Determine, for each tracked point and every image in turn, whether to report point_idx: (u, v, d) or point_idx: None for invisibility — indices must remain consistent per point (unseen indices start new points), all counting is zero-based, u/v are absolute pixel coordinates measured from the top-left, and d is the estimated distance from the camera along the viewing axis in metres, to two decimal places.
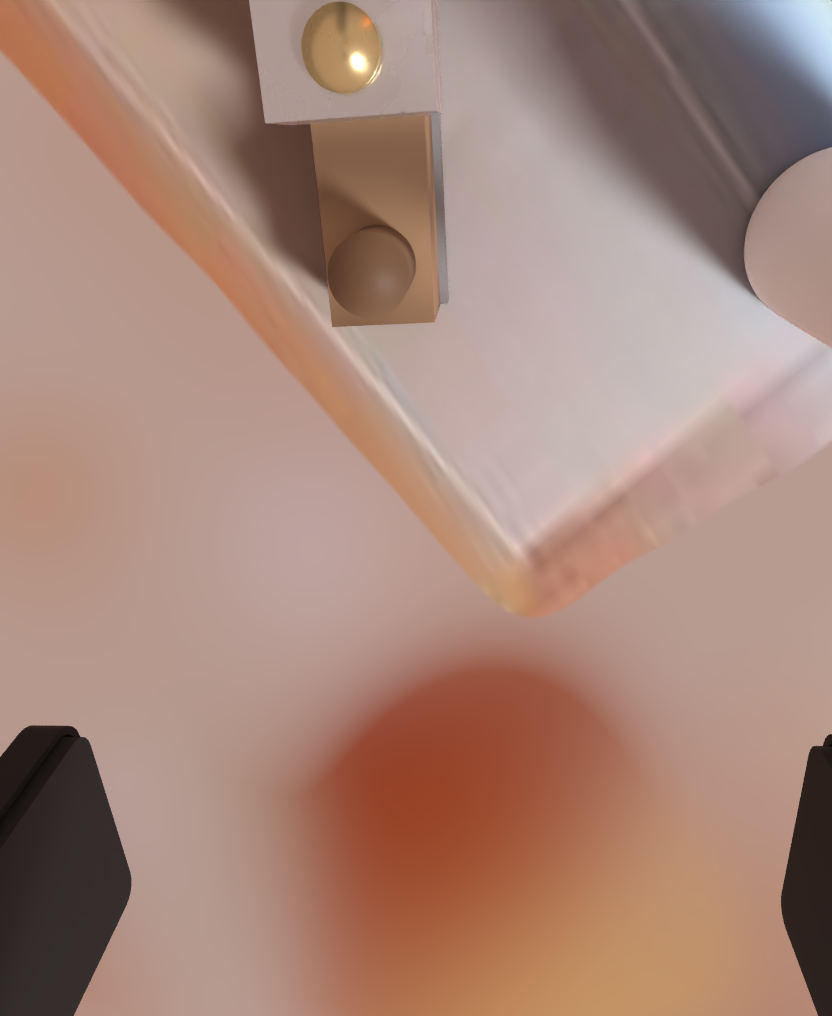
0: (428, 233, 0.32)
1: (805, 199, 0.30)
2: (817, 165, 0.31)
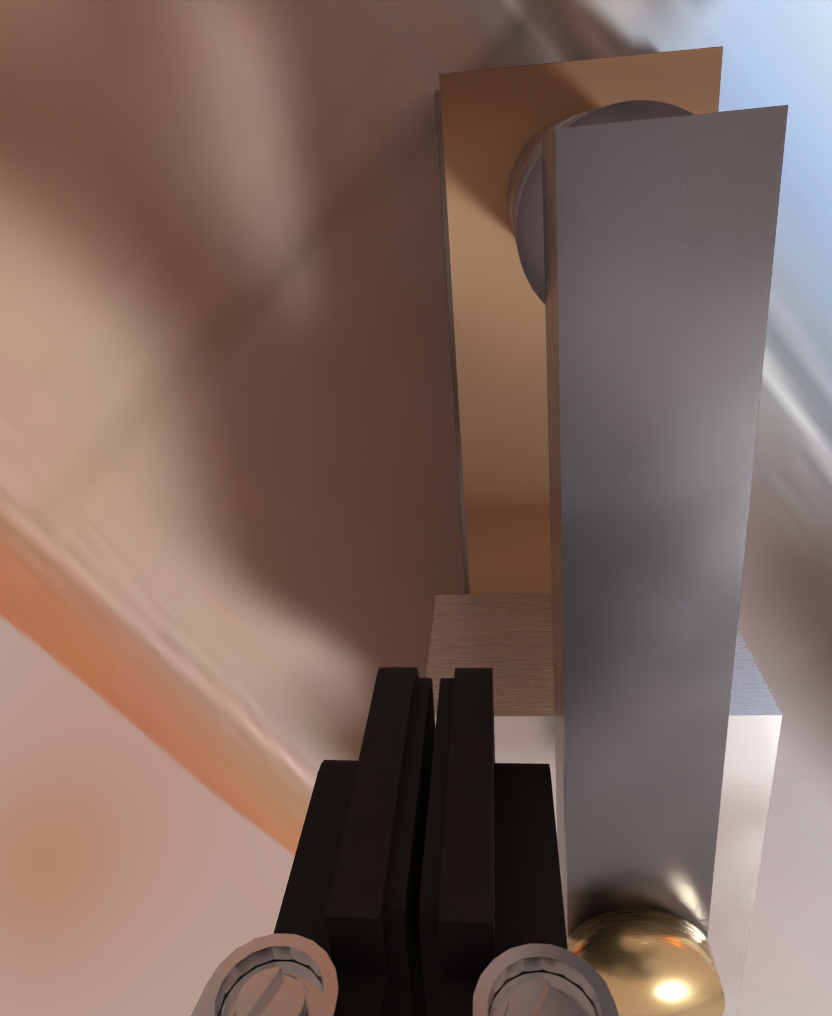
0: None
1: None
2: None
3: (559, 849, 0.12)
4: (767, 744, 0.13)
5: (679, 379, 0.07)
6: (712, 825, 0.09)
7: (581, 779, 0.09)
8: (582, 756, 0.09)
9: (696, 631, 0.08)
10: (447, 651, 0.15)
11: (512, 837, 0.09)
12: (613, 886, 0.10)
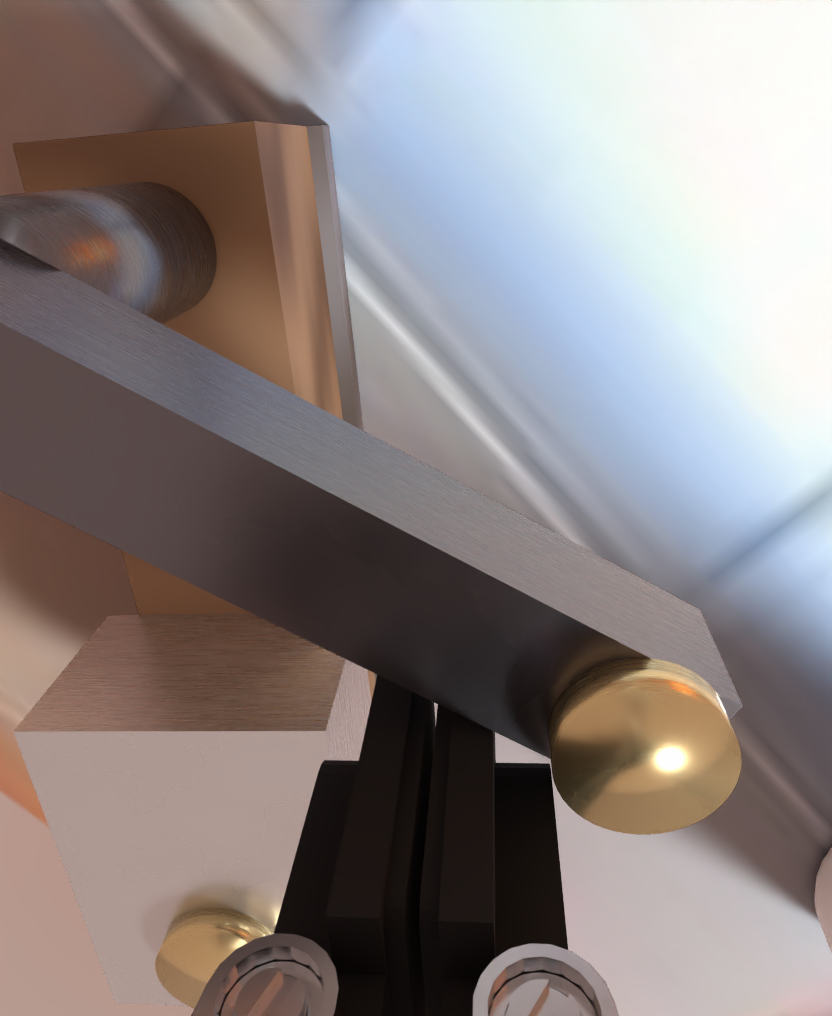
0: None
1: None
2: None
3: None
4: (320, 757, 0.14)
5: None
6: (484, 580, 0.08)
7: (361, 651, 0.09)
8: (333, 637, 0.09)
9: (235, 484, 0.08)
10: (80, 669, 0.16)
11: (512, 837, 0.09)
12: (517, 697, 0.09)
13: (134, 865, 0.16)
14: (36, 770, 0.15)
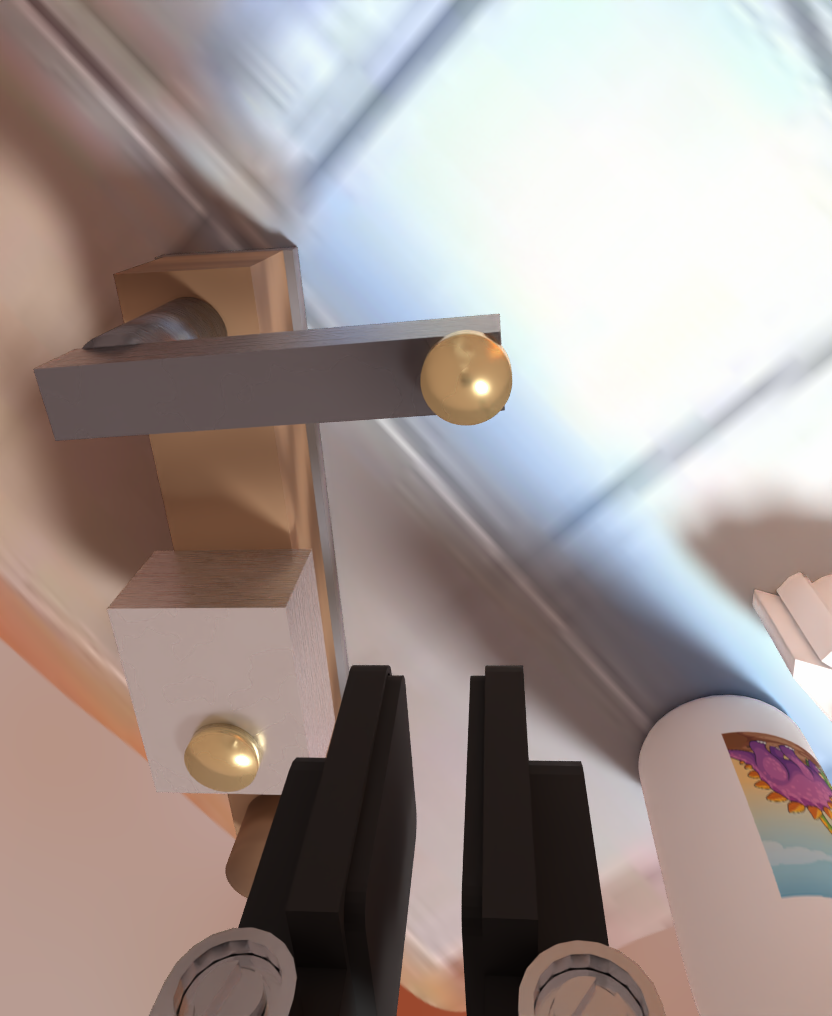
0: None
1: (678, 809, 0.31)
2: (694, 750, 0.33)
3: None
4: (283, 623, 0.25)
5: (127, 391, 0.18)
6: (353, 346, 0.17)
7: (331, 414, 0.18)
8: (316, 414, 0.18)
9: (237, 370, 0.18)
10: (141, 579, 0.27)
11: (548, 834, 0.09)
12: (407, 392, 0.18)
13: (172, 694, 0.27)
14: (118, 633, 0.26)
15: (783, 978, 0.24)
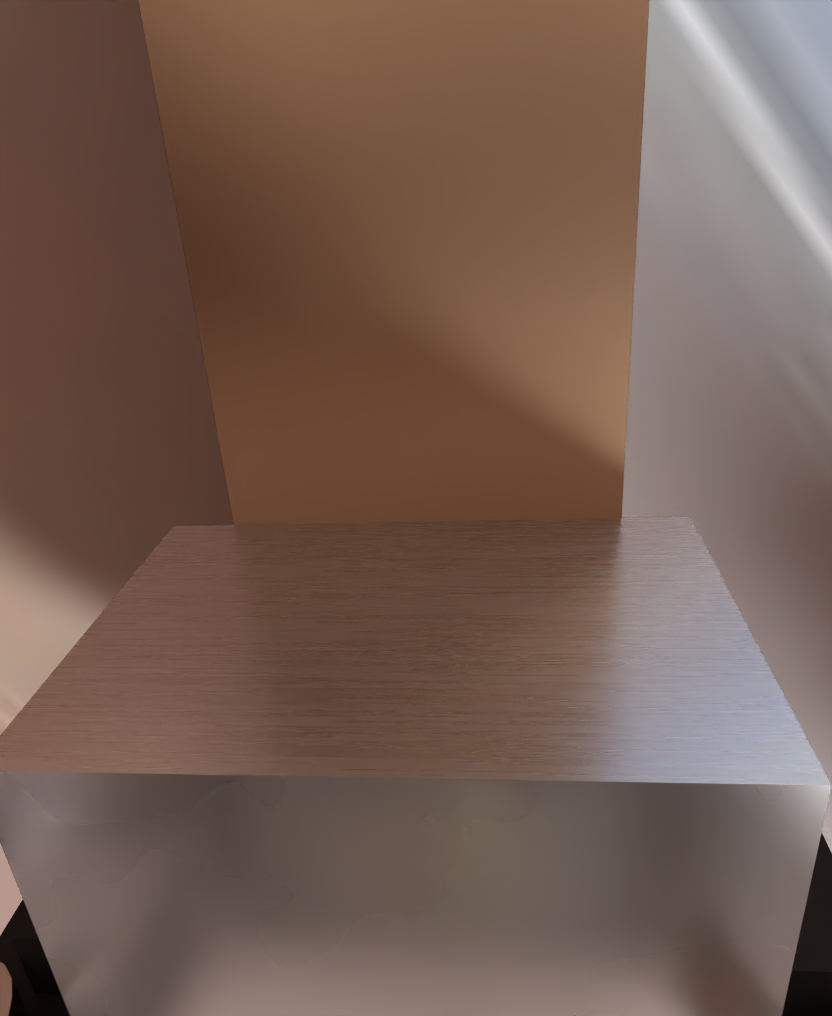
0: None
1: None
2: None
3: None
4: (793, 851, 0.05)
5: None
6: None
7: None
8: None
9: None
10: (128, 624, 0.07)
11: None
12: None
13: None
14: (30, 864, 0.06)
15: None
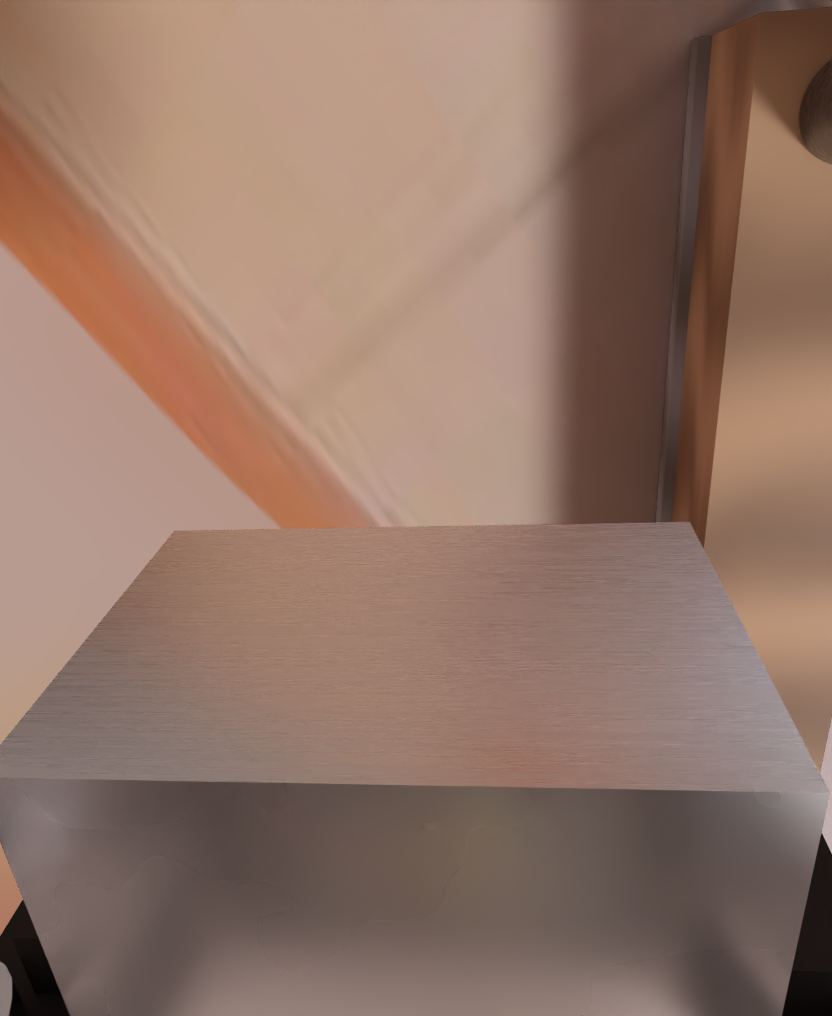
0: None
1: None
2: None
3: None
4: (791, 859, 0.05)
5: None
6: None
7: None
8: None
9: None
10: (130, 630, 0.07)
11: None
12: None
13: None
14: (32, 870, 0.06)
15: None
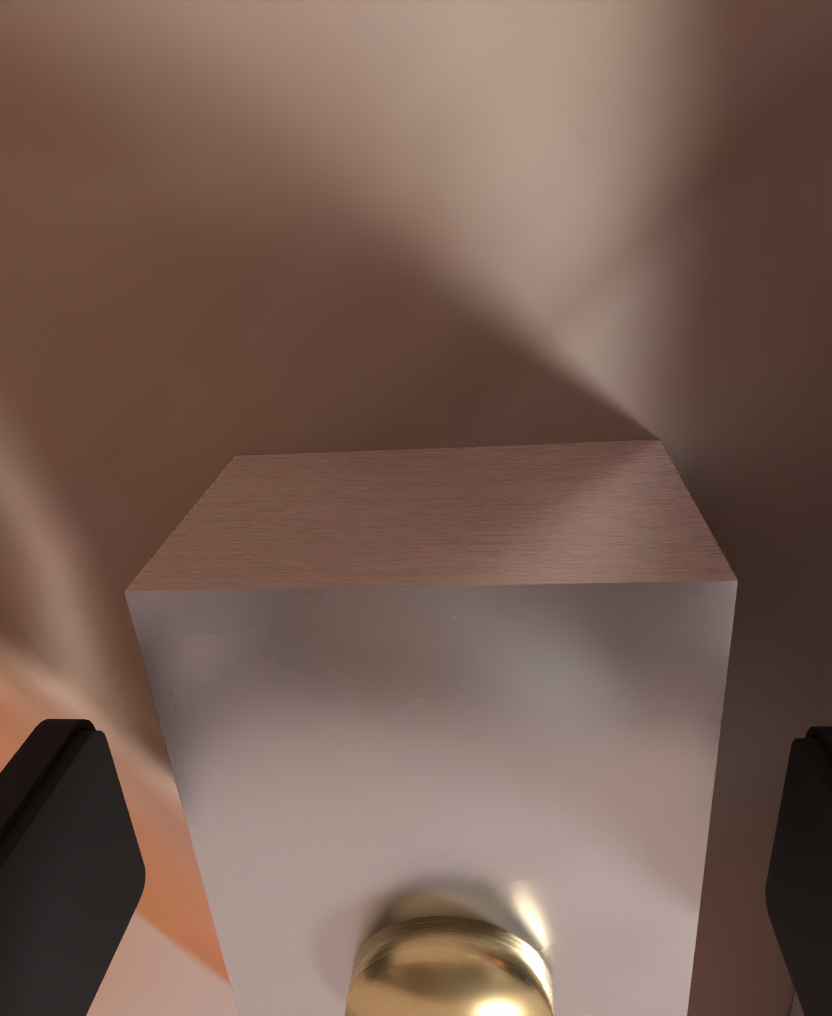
0: None
1: None
2: None
3: None
4: (714, 635, 0.07)
5: None
6: None
7: None
8: None
9: None
10: (218, 510, 0.10)
11: None
12: None
13: (317, 843, 0.09)
14: (160, 669, 0.08)
15: None
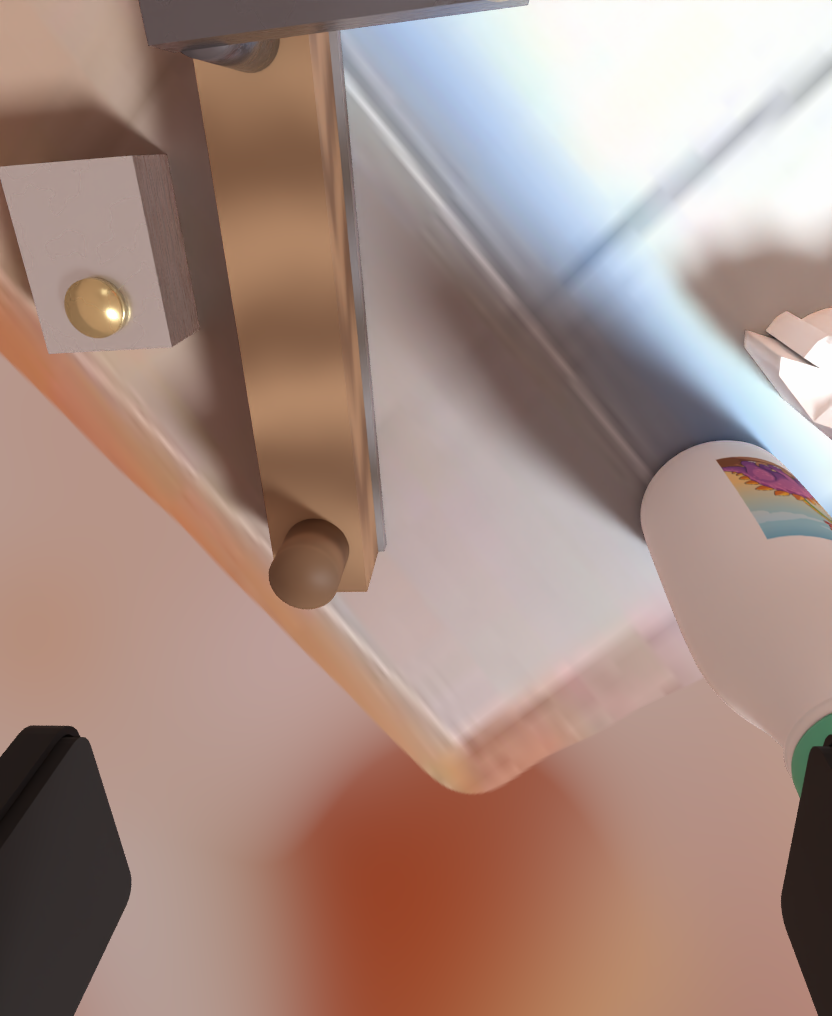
0: (359, 526, 0.37)
1: (676, 516, 0.35)
2: (691, 474, 0.36)
3: (487, 7, 0.23)
4: (131, 171, 0.32)
5: None
6: None
7: (384, 5, 0.22)
8: (372, 6, 0.22)
9: None
10: None
11: None
12: None
13: (53, 251, 0.34)
14: (7, 191, 0.33)
15: (768, 586, 0.28)
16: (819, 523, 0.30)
